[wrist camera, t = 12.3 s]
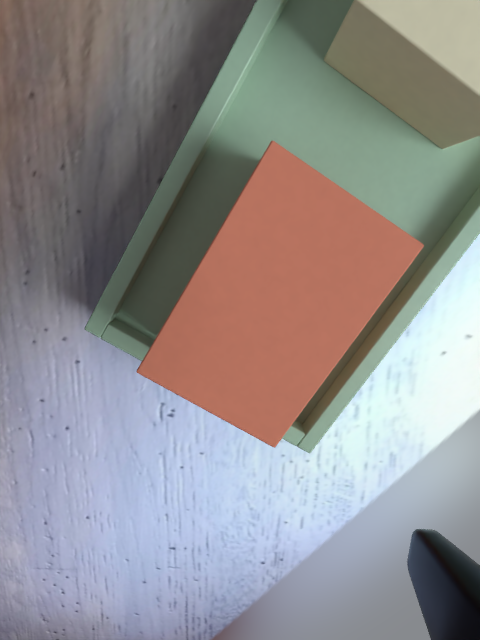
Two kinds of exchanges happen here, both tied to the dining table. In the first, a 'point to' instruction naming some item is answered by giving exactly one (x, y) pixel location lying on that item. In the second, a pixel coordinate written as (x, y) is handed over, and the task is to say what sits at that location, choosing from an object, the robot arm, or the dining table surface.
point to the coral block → (277, 297)
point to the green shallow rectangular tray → (323, 160)
